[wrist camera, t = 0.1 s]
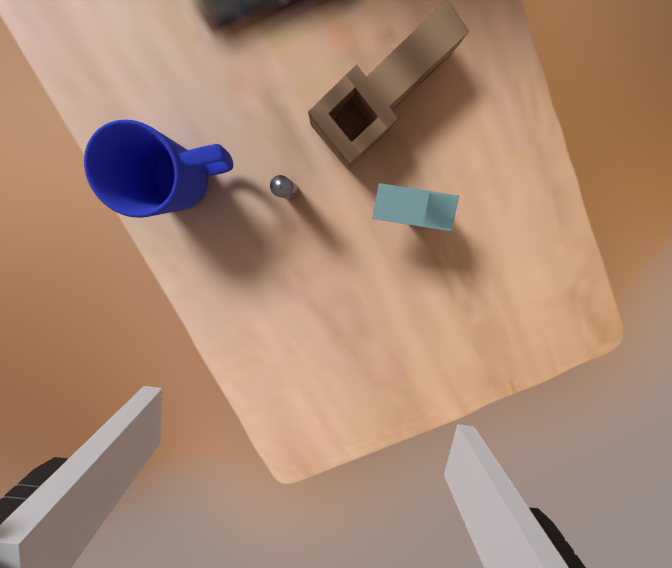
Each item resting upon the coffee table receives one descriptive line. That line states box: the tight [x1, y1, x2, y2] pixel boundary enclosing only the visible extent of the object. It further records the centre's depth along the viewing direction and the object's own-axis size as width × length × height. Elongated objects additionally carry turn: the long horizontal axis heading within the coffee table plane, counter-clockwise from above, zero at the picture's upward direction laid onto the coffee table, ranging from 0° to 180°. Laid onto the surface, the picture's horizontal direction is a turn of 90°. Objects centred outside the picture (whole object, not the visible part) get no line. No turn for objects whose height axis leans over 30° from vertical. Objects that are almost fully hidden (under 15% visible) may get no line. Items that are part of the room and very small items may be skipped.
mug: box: [84, 120, 233, 218], centre depth 33 cm, size 8×12×10 cm
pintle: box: [270, 175, 298, 199], centre depth 35 cm, size 2×2×8 cm
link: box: [308, 0, 469, 168], centre depth 34 cm, size 16×6×5 cm, turn 132°
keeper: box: [373, 183, 459, 231], centre depth 36 cm, size 4×8×7 cm, turn 81°
